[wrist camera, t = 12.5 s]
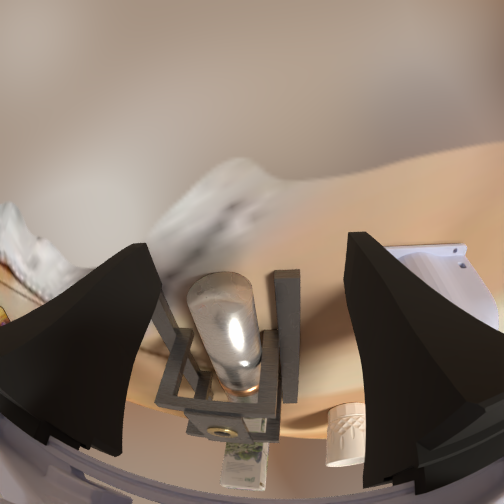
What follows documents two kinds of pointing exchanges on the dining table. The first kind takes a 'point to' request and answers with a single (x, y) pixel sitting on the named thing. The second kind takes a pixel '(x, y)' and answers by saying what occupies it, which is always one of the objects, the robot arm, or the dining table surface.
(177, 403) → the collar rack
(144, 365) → the dining table surface
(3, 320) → the candy box
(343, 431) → the white cup
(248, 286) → the steel tube
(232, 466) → the syrup box
